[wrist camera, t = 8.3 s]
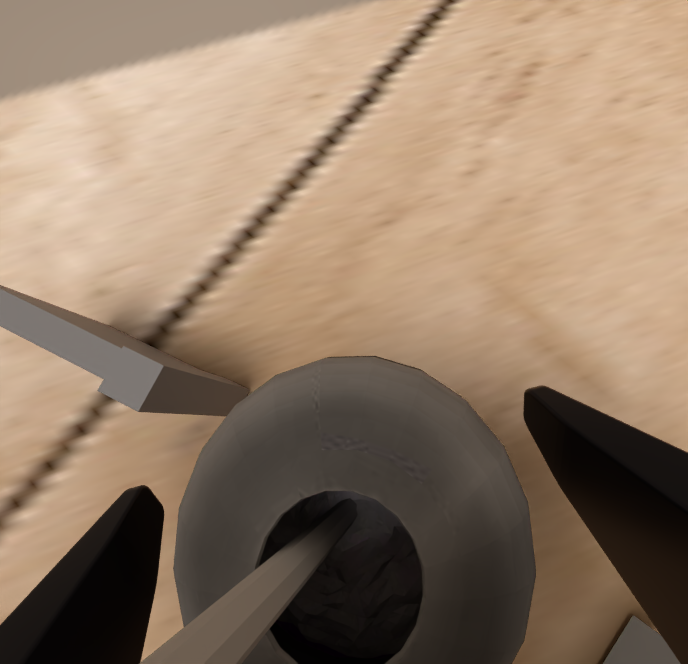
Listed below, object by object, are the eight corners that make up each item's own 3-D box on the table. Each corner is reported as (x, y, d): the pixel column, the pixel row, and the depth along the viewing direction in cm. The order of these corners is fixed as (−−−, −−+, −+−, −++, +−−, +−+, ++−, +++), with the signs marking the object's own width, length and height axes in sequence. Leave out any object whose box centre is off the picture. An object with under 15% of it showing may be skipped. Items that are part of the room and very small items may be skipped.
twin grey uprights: (715, 610, 17) (1072, 805, 8) (706, 652, 17) (1066, 899, 8) (110, 320, 23) (-55, 255, 14) (93, 347, 22) (-86, 298, 13)
